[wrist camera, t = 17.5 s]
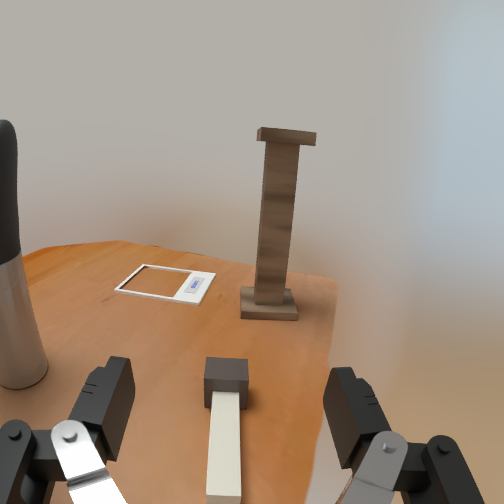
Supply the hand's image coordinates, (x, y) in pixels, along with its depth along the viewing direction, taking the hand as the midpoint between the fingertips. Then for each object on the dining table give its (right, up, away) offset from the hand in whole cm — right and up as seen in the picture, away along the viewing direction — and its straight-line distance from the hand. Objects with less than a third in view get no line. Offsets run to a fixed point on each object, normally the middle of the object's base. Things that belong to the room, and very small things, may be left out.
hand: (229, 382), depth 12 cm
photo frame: (-17, -2, +55) cm, 58 cm away
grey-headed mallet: (-2, -15, +19) cm, 25 cm away
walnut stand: (+4, -5, +48) cm, 49 cm away
